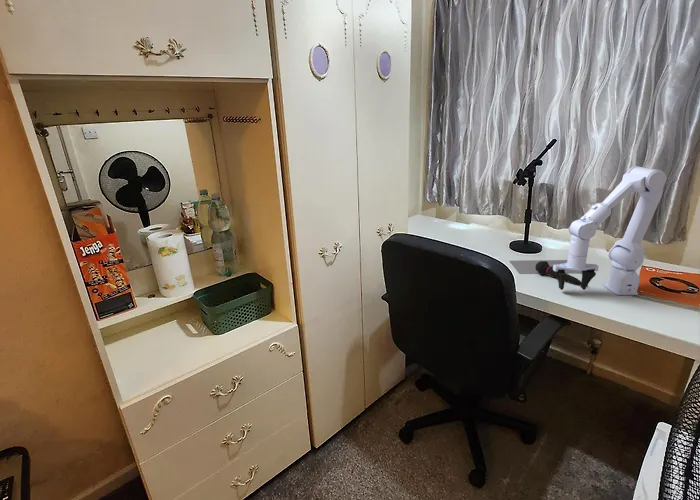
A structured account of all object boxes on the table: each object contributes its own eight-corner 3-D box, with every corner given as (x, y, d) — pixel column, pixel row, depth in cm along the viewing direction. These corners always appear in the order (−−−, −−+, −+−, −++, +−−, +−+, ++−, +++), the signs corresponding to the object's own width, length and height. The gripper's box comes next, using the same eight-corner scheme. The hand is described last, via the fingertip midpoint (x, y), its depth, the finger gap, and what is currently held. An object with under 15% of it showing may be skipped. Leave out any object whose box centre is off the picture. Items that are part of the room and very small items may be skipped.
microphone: (586, 292, 146) (536, 271, 160) (593, 279, 144) (542, 258, 158) (581, 293, 142) (530, 271, 156) (588, 279, 141) (536, 258, 154)
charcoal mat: (585, 273, 155) (585, 273, 155) (519, 273, 157) (519, 273, 157) (570, 260, 168) (570, 259, 168) (509, 260, 171) (509, 260, 170)
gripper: (593, 249, 138) (587, 283, 143) (551, 250, 139) (546, 283, 144) (604, 256, 131) (597, 292, 136) (559, 257, 133) (554, 292, 138)
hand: (571, 288), depth 140 cm, fingers open, 7 cm apart
